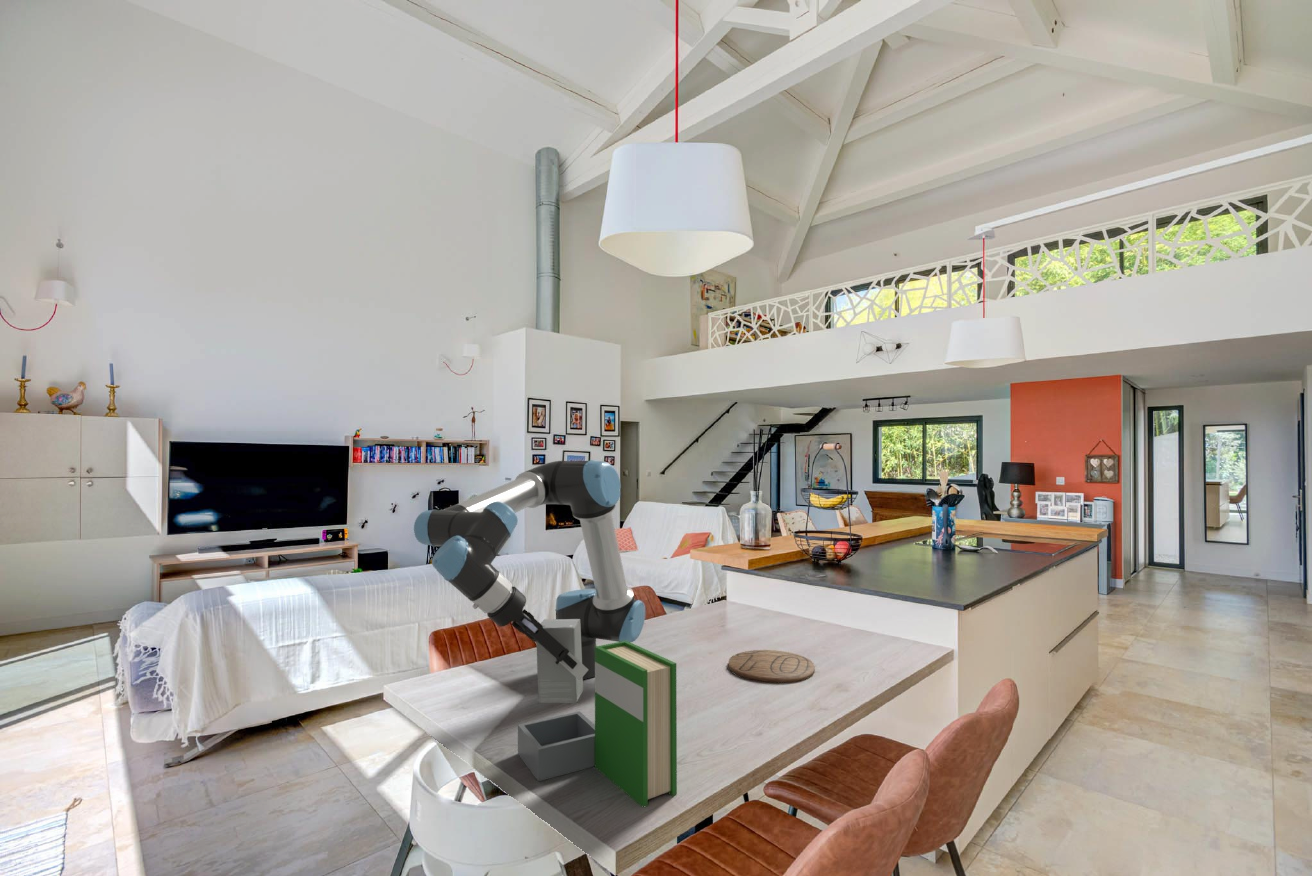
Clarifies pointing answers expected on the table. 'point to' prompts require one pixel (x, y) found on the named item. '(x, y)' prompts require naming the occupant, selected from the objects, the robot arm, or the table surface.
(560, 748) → the bin
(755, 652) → the trivet
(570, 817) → the table surface
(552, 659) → the skincare box
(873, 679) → the table surface
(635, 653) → the hardback book
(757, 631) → the table surface
